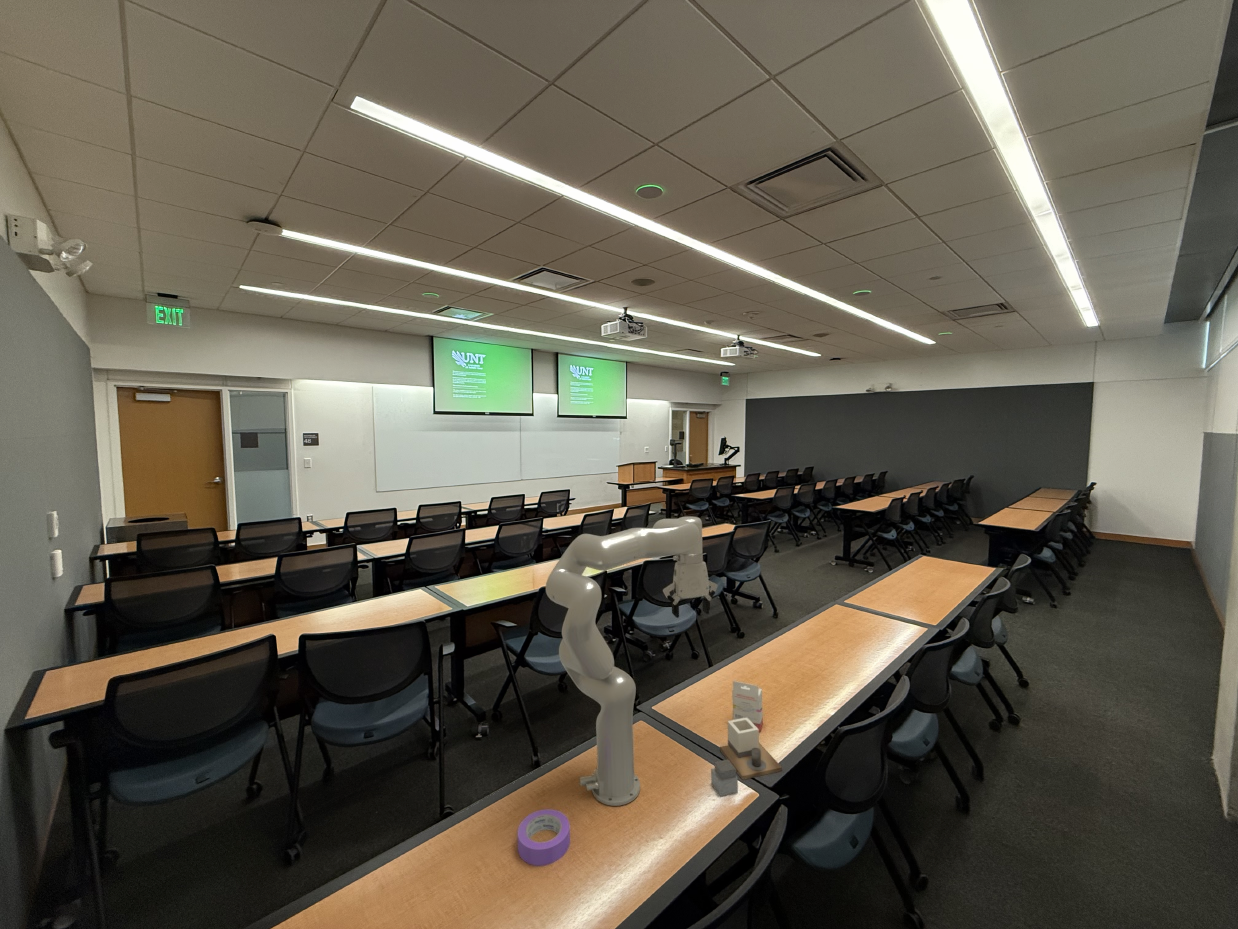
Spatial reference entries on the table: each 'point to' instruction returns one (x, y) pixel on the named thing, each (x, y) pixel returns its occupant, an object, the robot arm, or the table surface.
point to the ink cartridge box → (747, 703)
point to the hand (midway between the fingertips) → (691, 614)
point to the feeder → (724, 778)
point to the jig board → (743, 766)
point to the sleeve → (742, 736)
